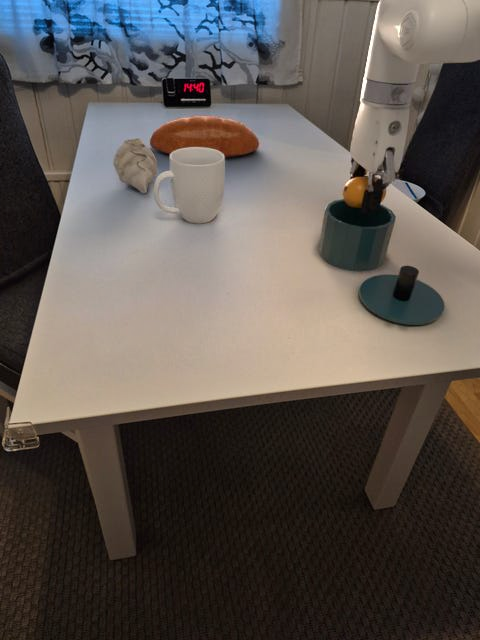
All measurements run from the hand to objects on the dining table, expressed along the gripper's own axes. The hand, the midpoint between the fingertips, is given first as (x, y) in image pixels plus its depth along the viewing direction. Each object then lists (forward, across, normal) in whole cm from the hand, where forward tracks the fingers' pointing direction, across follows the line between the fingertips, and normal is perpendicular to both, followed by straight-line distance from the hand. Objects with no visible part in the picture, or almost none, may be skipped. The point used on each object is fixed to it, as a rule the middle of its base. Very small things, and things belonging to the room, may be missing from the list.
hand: (362, 203), depth 79 cm
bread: (+10, +65, +18) cm, 68 cm away
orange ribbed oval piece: (0, 0, 0) cm, 0 cm away
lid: (+10, -16, -2) cm, 19 cm away
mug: (+10, +20, +28) cm, 36 cm away
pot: (+10, 0, 0) cm, 10 cm away
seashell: (+10, +40, +39) cm, 56 cm away
